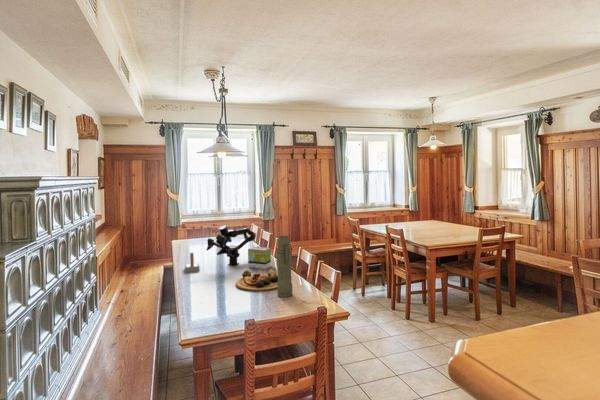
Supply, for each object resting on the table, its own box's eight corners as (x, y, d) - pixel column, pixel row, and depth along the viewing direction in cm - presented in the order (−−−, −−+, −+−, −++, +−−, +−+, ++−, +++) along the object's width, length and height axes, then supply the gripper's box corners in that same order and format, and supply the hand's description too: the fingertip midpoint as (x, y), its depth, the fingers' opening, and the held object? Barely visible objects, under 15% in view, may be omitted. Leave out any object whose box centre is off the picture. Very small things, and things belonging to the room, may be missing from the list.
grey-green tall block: (287, 291, 228) (286, 234, 226) (295, 297, 218) (294, 237, 215) (274, 293, 225) (272, 235, 222) (281, 299, 214) (280, 238, 211)
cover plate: (197, 267, 281) (197, 253, 280) (186, 268, 278) (186, 254, 278) (197, 264, 290) (196, 250, 290) (186, 265, 288) (185, 251, 287)
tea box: (248, 267, 289) (247, 248, 288) (254, 264, 298) (253, 246, 297) (265, 269, 283) (265, 249, 282) (271, 266, 292) (271, 247, 291)
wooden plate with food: (227, 283, 248) (226, 271, 247) (267, 274, 267) (267, 263, 266) (251, 296, 223) (251, 283, 222) (294, 285, 242) (294, 273, 241)
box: (199, 271, 281) (199, 266, 280) (185, 272, 277) (185, 267, 277) (198, 267, 291) (198, 262, 291) (185, 268, 288) (184, 264, 288)
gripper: (213, 228, 288) (200, 239, 276) (234, 236, 282) (221, 248, 270) (214, 239, 294) (201, 250, 282) (234, 247, 288) (222, 260, 276)
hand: (211, 252), depth 278 cm, fingers open, 9 cm apart
